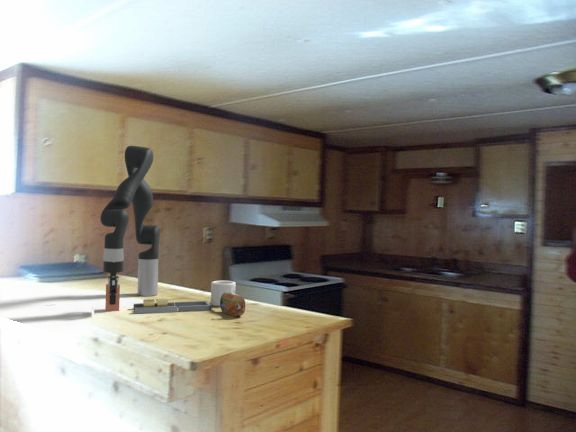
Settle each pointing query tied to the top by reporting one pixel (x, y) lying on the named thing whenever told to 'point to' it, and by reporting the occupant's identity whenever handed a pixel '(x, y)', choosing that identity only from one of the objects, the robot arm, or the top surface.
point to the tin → (232, 304)
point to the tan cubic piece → (149, 303)
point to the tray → (193, 306)
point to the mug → (221, 290)
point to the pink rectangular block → (108, 306)
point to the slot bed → (154, 308)
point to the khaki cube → (161, 302)
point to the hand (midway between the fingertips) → (112, 303)
